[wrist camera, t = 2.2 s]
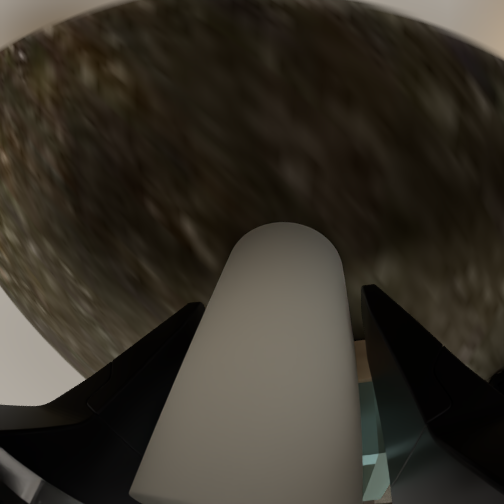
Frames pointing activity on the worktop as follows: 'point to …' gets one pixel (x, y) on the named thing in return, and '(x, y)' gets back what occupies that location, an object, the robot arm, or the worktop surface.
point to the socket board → (370, 432)
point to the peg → (264, 385)
